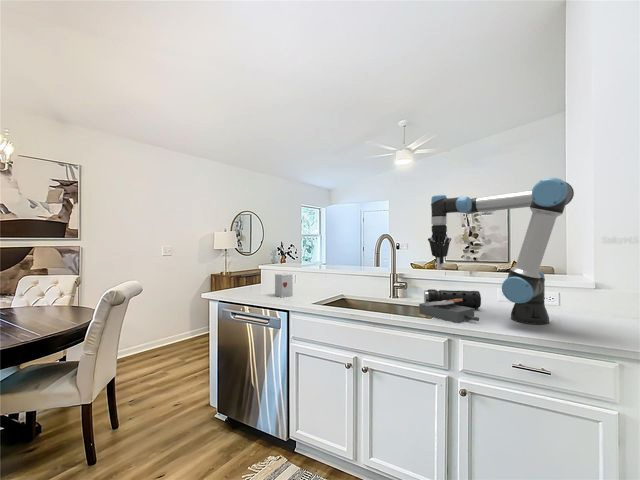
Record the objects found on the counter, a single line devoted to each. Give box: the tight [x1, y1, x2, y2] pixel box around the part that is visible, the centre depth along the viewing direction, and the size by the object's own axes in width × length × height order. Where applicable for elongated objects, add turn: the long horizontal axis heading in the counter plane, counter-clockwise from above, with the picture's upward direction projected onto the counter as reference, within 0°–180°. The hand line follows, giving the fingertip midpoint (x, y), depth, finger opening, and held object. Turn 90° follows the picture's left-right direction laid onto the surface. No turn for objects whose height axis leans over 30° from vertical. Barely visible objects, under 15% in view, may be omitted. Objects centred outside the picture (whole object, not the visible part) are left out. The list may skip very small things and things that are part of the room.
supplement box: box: [274, 272, 293, 298], centre depth 220 cm, size 9×9×15 cm
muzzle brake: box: [423, 288, 482, 310], centre depth 178 cm, size 10×28×10 cm, turn 78°
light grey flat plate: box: [429, 301, 454, 305], centre depth 159 cm, size 10×6×1 cm, turn 32°
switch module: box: [418, 301, 480, 324], centre depth 158 cm, size 28×13×6 cm, turn 32°
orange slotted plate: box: [443, 298, 463, 302], centre depth 163 cm, size 10×6×1 cm, turn 32°
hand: (439, 269), depth 170 cm, fingers closed
